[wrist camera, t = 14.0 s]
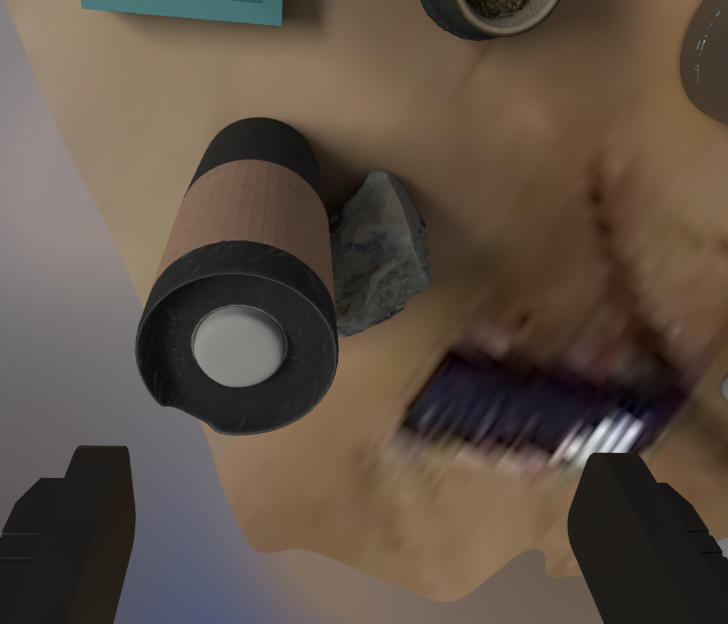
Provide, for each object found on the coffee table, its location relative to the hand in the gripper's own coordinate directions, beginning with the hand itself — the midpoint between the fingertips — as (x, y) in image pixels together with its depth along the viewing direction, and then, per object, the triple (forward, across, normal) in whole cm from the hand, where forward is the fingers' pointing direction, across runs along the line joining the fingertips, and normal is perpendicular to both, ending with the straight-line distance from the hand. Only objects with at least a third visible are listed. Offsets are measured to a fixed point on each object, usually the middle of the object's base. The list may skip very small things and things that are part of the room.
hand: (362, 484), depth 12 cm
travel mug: (+32, +3, +6) cm, 33 cm away
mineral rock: (+32, -1, +11) cm, 34 cm away
